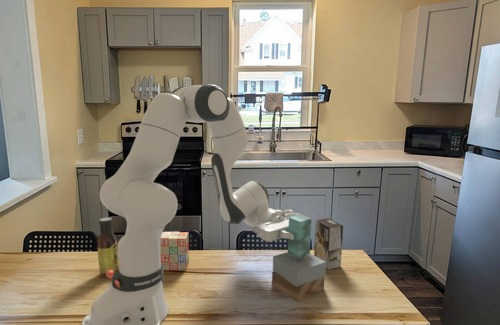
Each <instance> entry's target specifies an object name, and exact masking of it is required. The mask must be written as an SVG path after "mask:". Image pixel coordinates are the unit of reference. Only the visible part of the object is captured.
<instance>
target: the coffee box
mask: <svg viewBox="0 0 500 325" xmlns="http://www.w3.org/2000/svg"><path fill="white" fill-rule="evenodd" d="M314 226H315V229H314V230H315V231H314V250H313V252H314V254H313V255H314V256H316V257H318V258H319V259H321V260H323V261H325V262H326V269H327V270H331V269H336V268H341V267H342V253H343V252H342V251H343V235H344V234H343V233H344V225H343V224H341V223H339V222H337V221H334V220H333V219H331V218H329V217H328V218H320V219H318V220H315V225H314ZM326 269H325V270H326Z"/></svg>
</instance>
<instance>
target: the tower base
mask: <svg viewBox="0 0 500 325" xmlns="http://www.w3.org/2000/svg"><path fill="white" fill-rule="evenodd" d="M325 277H326V276H325ZM325 277H322V278H320V279H317V280H314V281H311V282H309V283H306V284H303V285H301V286H298V287H296V286H295V285H293V284H292V283H290V282H289V281H287V280H286V279H284V278H283V277H281V276H280V275H279V274H277V273H276V272H274V271H273V270H272V273H271V285H272V286H273V287H274V288H275V289H278V290H279V291H281V292H282V293H284V294H285V295H287V296H289V297H290V298H292V299H293V300H295V301H296V302H297V303H298V302H301V301H303V300H305V299H307V298H309V297H310V296H312V295H314V294H317V293H318V292H320V291H323V290H324V289H325Z"/></svg>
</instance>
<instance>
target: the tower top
mask: <svg viewBox="0 0 500 325" xmlns="http://www.w3.org/2000/svg"><path fill="white" fill-rule="evenodd" d="M273 271H274V272H276V273H277V274H279V275H280V276H281V277H283V278H284V279H286V280H287V281H289V282H290V283H292V284H293V285H295V286H296V287H298V286H301V285H303V284H306V283H309V282H311V281H314V280H317V279H320V278H322V277H326V262H325V261H323V260H321V259H319V258H318V257H316V256H314V254H312V253H310V254H309V255H306V256H304V257H301V258H297V257H295V256H293V255H291V254H289V253H288V251H287V252H283V253H280V254H277V255H273V256H272V272H273Z"/></svg>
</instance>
